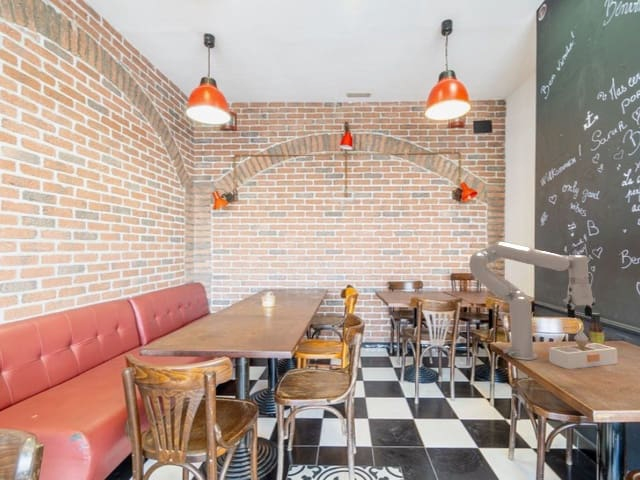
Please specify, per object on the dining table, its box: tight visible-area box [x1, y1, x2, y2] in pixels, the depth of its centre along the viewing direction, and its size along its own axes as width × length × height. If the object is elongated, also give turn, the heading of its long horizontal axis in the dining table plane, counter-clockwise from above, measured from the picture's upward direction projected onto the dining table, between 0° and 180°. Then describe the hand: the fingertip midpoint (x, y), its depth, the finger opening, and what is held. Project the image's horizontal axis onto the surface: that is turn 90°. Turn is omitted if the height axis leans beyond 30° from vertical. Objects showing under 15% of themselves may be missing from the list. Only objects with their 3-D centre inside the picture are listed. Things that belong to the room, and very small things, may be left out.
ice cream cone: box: [573, 328, 590, 351], centre depth 164 cm, size 6×6×15 cm
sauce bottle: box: [588, 312, 606, 346], centre depth 180 cm, size 7×6×20 cm
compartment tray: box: [548, 343, 619, 370], centre depth 163 cm, size 28×11×7 cm, turn 101°
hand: (579, 316), depth 164 cm, fingers open, 9 cm apart
